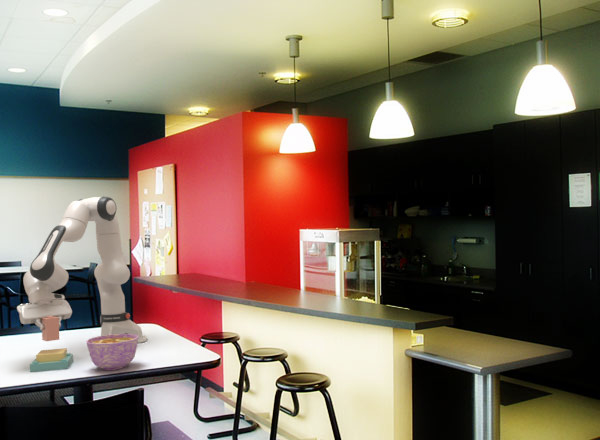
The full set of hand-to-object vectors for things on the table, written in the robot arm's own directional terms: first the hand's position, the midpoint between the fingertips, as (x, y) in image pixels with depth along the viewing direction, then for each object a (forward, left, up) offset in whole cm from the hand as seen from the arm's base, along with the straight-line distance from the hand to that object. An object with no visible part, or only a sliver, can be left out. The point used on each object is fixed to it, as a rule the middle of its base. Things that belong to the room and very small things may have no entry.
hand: (51, 327), depth 244 cm
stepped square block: (0, -1, -16) cm, 16 cm away
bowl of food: (-25, +11, -16) cm, 32 cm away
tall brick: (0, -1, -5) cm, 5 cm away
